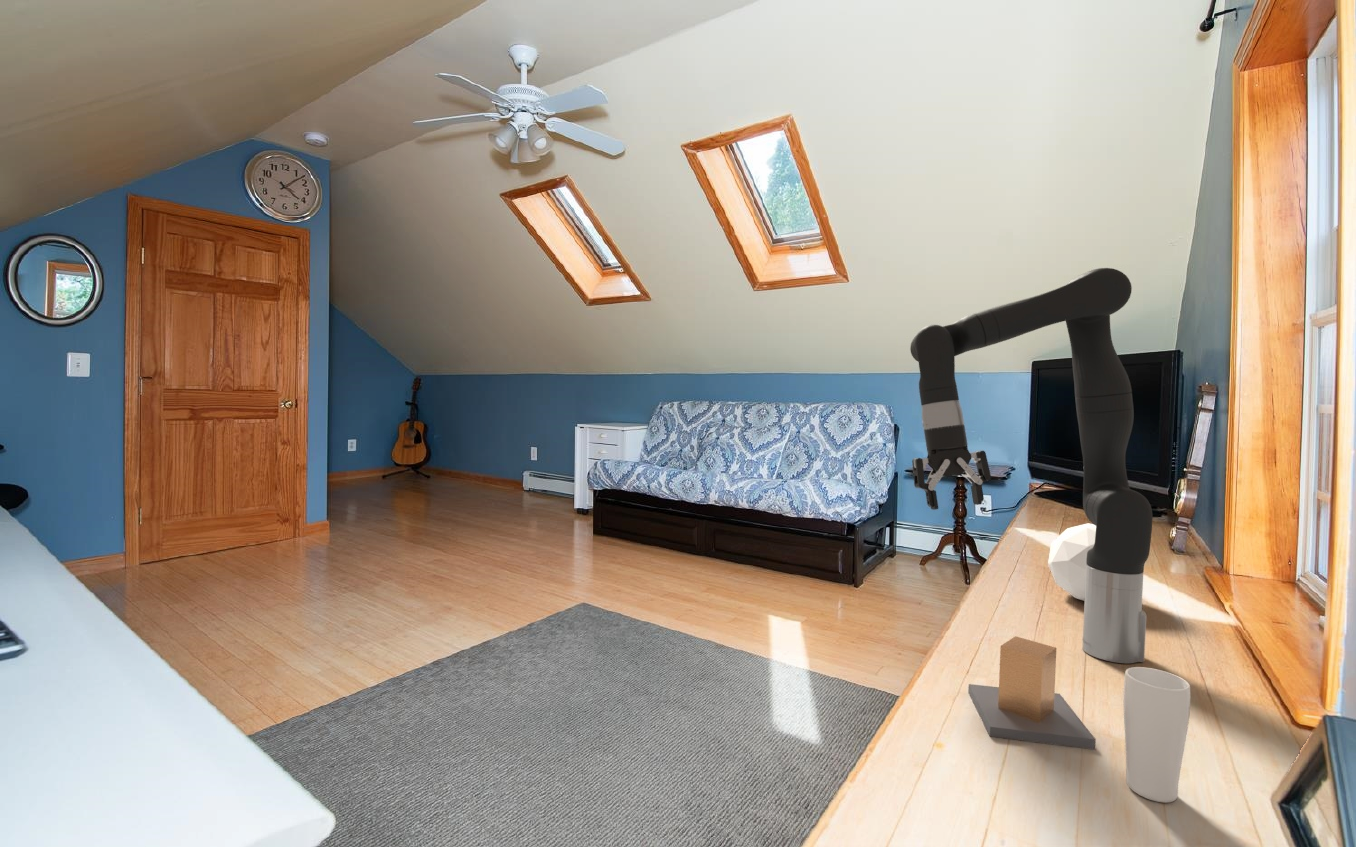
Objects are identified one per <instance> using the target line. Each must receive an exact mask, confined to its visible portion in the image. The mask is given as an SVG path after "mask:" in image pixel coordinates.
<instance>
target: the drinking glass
mask: <svg viewBox="0 0 1356 847" xmlns="http://www.w3.org/2000/svg"><path fill="white" fill-rule="evenodd" d="M1124 672H1125V673H1124V679H1123V680H1124V681H1123V690H1122V692H1123V694H1122V695H1123V699H1122V706H1123V725H1124V743H1125V745H1124V746H1125V762H1126V763H1125V765H1126V769H1125V781H1126V784H1127V785H1128V786H1127V787H1129V788H1130V790H1132V791H1133V792H1134V793H1136V794H1137V795H1139V796H1141V797H1143V798H1145V799H1147V800H1149V801H1153V802H1158V803H1167V804H1168V803H1172V802H1174V801H1176V800H1177V798H1178V795H1179V783H1180V782H1179V781H1180V777H1181V776H1180V775H1181V770H1182V763H1183V758H1184V752H1185V746H1186V741H1187V735H1188V729H1189V723H1190V715H1191V714H1190V713H1191V685H1190V683H1189V682H1188V681H1187V680H1185V679H1184V678H1182V677H1180V676H1178V675H1176V674H1173V673H1170V672H1168V671H1165V670H1161V669H1158V668H1157V669H1156V668H1151V667H1143V666H1135V667H1134V666H1133V667H1132V666H1131V667H1128V668H1126V670H1125V671H1124Z"/></svg>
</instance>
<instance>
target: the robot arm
mask: <svg viewBox="0 0 1356 847" xmlns="http://www.w3.org/2000/svg"><path fill="white" fill-rule="evenodd" d="M1132 289H1133V287H1132V283H1131V281H1130V279H1129V277H1128V276H1127V275H1126V274H1125V273H1124V272H1123V271H1120V270H1118V269H1115V268H1112V267H1111V268H1110V267H1101V268H1100V267H1099V268H1095V269H1091V270H1089V271H1087V272H1084V273H1082V274H1080V275H1077V276H1074V277H1073V278H1071V279H1070V281H1069V282H1068V283H1067V284H1065V285H1063V286H1060V287H1058V288H1055V289H1052V290H1050V291H1047V292H1044V293H1041V294H1038V295H1034V296H1031V297H1028V298H1023V299H1019V300H1016V301H1013V302H1012V301H1011V302H1008V303H1005V304H1001V305H997V306H994V307H991V308H987V309H984V310H981V311H978V312H975V313H972V314H968V315H966V316H963V317H962V318H960V319H958V320H957V321H955V322H952V323H949V324H946V325H940V324H930V325H926V326H924V327H922V328H921V329H920V330H919V331H918V332H917V334H916V335H915V336H914V338H913V339H912V341H911V343H910V348H909V350H910V353H911V356H912V358H913V359H914V360H915V361H917V362H918V368H919V376H920V377H919V381H918V393H919V396H920V397H919V398H920V403H921V419H922V428H923V432H924V433H923V434H924V439H925V446H926V447H925V448H926V452H927V455H926V456H927V457H925V458H921V457H917V458H913V459H912V461H911V462H912V473H913V484H914V485H913V486H914V488H916V489H921V490H923V491H924V492H925V498H926V505H927V507H929V508H930V509H931V510H932V511H933V510H934V511H935V510H939V502H938V496H937V491H936V490H935V488H936V486H937V485H938V483H939V482H940V481H941V479H942V478H947V477H948V478H949V477H953V476H962V477H963V478H965V479H966V480H967V481H969V483H970V484H971V485H970V490H971V498H972V502H973V505H975V506H978V505H979V506H980V505H983V504H982V503H983V502H984V498H985V497H984V491H983V486H982V485H983V484H984V483H986V482H987V481H990V480H991V479H992V475H991V472H990V466H989V462H988V456H987V454H986V451H985V450H977V451H974V452H970V451H969V448H968V439H967V433H966V427H965V422H964V415H963V411H962V407H961V403H960V398H959V392H958V386H957V382H956V381H957V380H956V376H955V374H956V373H955V372H956V370H955V369H956V368H955V367H956V364H955V362H956V361H955V358H956V356H959V355H962V354H964V353H966V352H970V351H974V350H978V349H982V348H986V347H989V346H992V345H996V344H999V343H1001V342H1006V341H1008V340H1010V339H1011V340H1012V339H1014V338H1016V337H1020V336H1023V335H1024V334H1027V333H1030V332H1034V331H1036V330H1038V329H1042V328H1044V327H1048V326H1051V325H1055V324H1058V323H1063V322H1065V324H1066V328H1067V333H1068V338H1069V343H1070V350H1071V361H1072V362H1071V363H1072V364H1071V365H1072V373H1073V382H1074V383H1073V384H1074V397H1075V408H1076V417H1077V423H1078V430H1079V431H1078V432H1079V439H1080V440H1079V441H1080V447H1081V454H1082V462H1083V482H1082V483H1083V484H1082V487H1083V488H1082V506H1083V507H1082V508H1083V511H1084V514H1085V516H1086V518H1087V520H1088V521H1089V522H1091V524H1094V525H1095V526H1096V534H1095V544H1094V546H1093V548H1092V549H1090V550H1088V552H1087V560H1086V582H1085V601H1084V606H1083V608H1084V609H1083V626H1082V629H1083V630H1082V650H1083V652H1085V653H1086V654H1088V655H1090V656H1092V657H1094V658H1097V659H1100V660H1104V661H1107V662H1112V663H1116V664H1134V663H1145V652H1146V651H1145V650H1146V649H1145V648H1146V631H1147V628H1146V627H1147V613H1146V612H1145V611H1144V610H1143V609H1142V608H1143V592H1144V591H1143V589H1144V569H1145V564H1146V562H1147V560H1148V558H1149V556H1150V550H1151V543H1152V542H1151V541H1152V530H1153V510H1152V506H1151V504H1150V502H1149V500H1148V499H1147V497H1146V496H1144V495H1143V494H1142V493H1140V492H1138V491H1136V490H1133V489H1131V488H1130V486H1129V481H1128V480H1129V479H1128V475H1127V468H1126V455H1127V454H1126V452H1127V448H1128V444H1129V441H1130V437H1131V433H1132V430H1133V426H1134V418H1135V417H1134V416H1135V415H1134V414H1135V413H1134V411H1135V410H1134V401H1133V390H1132V385H1131V384H1132V383H1131V381H1130V379H1129V375H1128V373H1127V371H1126V369H1125V367H1124V365H1123V363H1122V361H1121V359H1120V357H1119V356H1118V353H1117V351H1116V349H1115V346H1114V343H1113V340H1112V334H1111V332H1112V331H1111V315H1113V314H1115V313H1117V312H1119V311H1120V310H1121V309H1122V308H1123V307H1124V306H1125V305H1126V304H1127V303H1128V302H1129V300H1130V298H1131V295H1132ZM971 460H972V461H973V462H974V463H975V464H976V469H977V474H976V472H975V470H973V468H972V467H971V466H970V465H969V464H970V462H971ZM927 465H928V466H929V467H930V468H931V471H930V472H929V474H928V477H927V480H926V479H925V472H924V471H925V470H924V469H926V467H927ZM925 480H926V481H925Z"/></svg>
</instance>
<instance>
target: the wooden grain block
mask: <svg viewBox="0 0 1356 847" xmlns="http://www.w3.org/2000/svg"><path fill="white" fill-rule="evenodd" d="M999 654H1000V655H999V676H998V678H999V679H998V687H999V699H998V708H1000V709H1002V710H1005V711H1008V712H1011V713H1013V714H1016V715H1019V716H1021V717H1024V718H1027V719H1029V720H1032V721H1035V722H1038V723H1041V722H1042V721H1043V720H1044V719H1045V718H1046V717H1047V716H1048V715H1049V714H1050V713H1051V712H1052V711H1053V710H1054V693H1056V692H1055V689H1056V688H1055V686H1056V666H1057V662H1056V661H1057V647H1056V646H1051V645H1048V644H1044V643H1041V642H1038V641H1033V640H1030V639H1026V638H1023V637H1020V636H1013V637H1012V638H1010V639H1009V640H1007V641H1006V642H1004V643H1003V644H1001V645H1000V651H999Z"/></svg>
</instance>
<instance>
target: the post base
mask: <svg viewBox="0 0 1356 847" xmlns="http://www.w3.org/2000/svg"><path fill="white" fill-rule="evenodd" d="M968 695H969V697H970V699H971V701H972V703H973V705H974V708H975V710H976V711H977V713H978V715H979V717H981V718H980V720H981V719H982V720H981V722H982V721H983V722H982V723H983V726H984V728H985V727H986V728H985V730H986V732H987V734H988V735H989V737H991V738H998V739H999V738H1000V739H1007V740H1015V741H1022V742H1031V743H1041V744H1048V745H1055V746H1056V745H1057V746H1065V747H1071V748H1081V749H1088V750H1096V744H1097V742H1096V741H1097V740H1096V739H1097V738H1095V737H1094V735H1093V734H1092V732H1091V731H1090V730H1089V729H1088V728H1087V727H1086V725H1085V724H1084V723H1083V721H1082V720H1081V718H1080V717H1079V716H1078V715H1077V714H1076V712H1075V711H1074V710H1073V709H1072V707H1071V706H1070V705H1069V704H1068V702H1067V700H1065V699H1064V697H1063V695H1061V693H1056V692H1054V710H1053V711H1052V712H1051V713H1050V714H1049V715H1048V716H1047V717H1046V718H1045V719H1044V720H1043V721H1042V722H1041V723H1038V722H1035V721H1032V720H1029V719H1027V718H1024V717H1021V716H1019V715H1016V714H1013V713H1011V712H1008V711H1005V710H1002V709H1000V708H998V699H999V686H993V685H992V686H989V685H983V684H982V685H981V684H972V683H968Z"/></svg>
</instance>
